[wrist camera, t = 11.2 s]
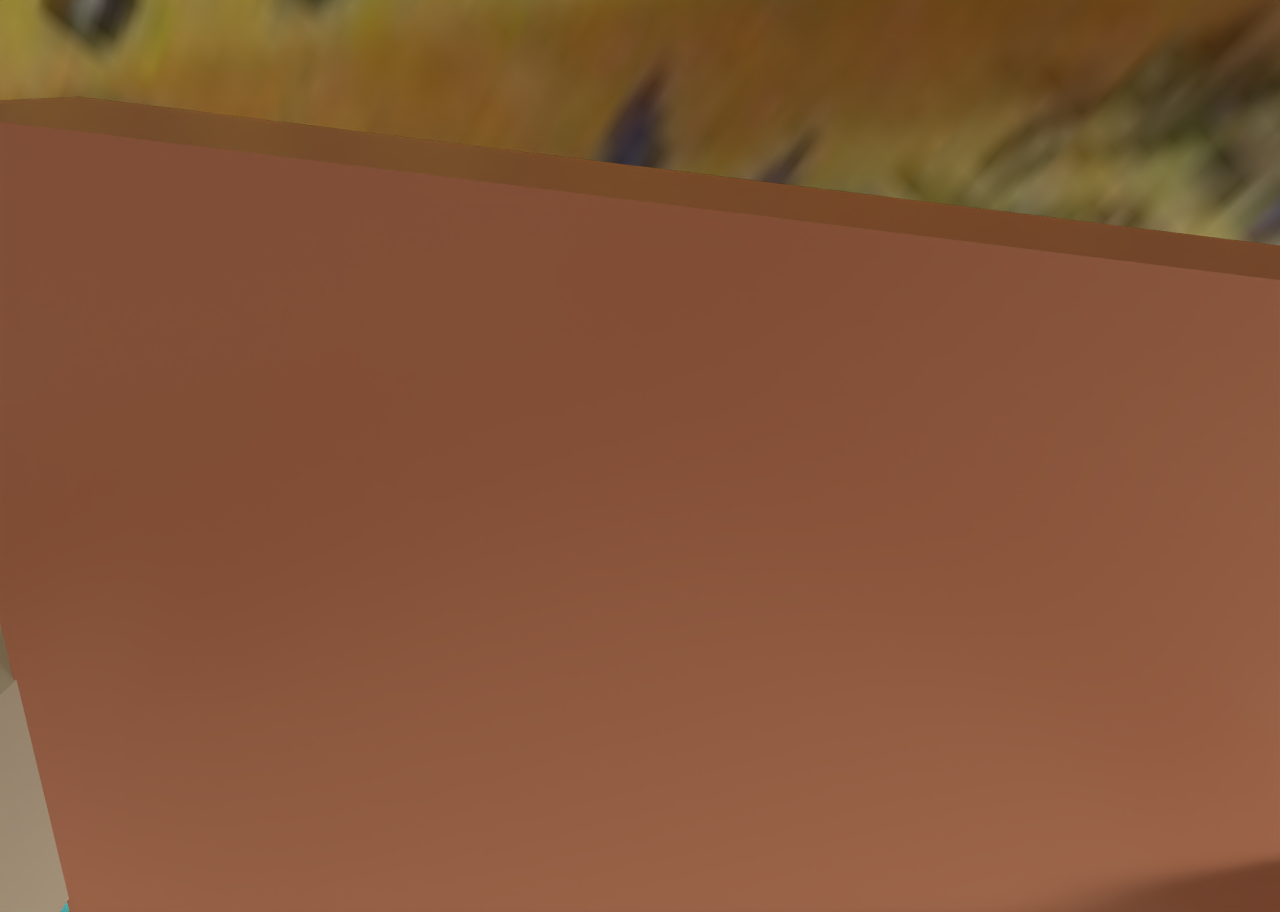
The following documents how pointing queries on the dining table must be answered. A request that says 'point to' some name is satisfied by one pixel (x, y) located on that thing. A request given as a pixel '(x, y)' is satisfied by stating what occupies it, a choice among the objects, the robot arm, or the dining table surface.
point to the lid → (624, 534)
